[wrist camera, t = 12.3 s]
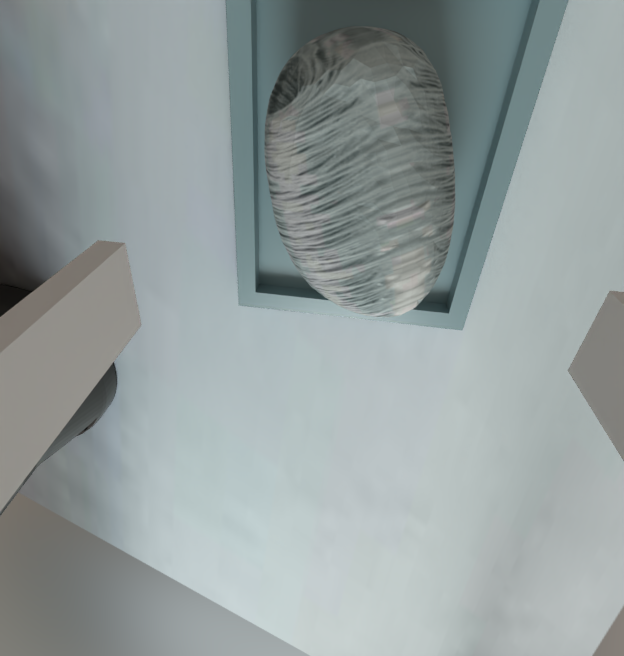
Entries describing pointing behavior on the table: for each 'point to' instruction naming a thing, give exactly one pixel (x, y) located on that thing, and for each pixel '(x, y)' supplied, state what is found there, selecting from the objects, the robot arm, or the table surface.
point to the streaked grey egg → (362, 169)
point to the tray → (464, 118)
